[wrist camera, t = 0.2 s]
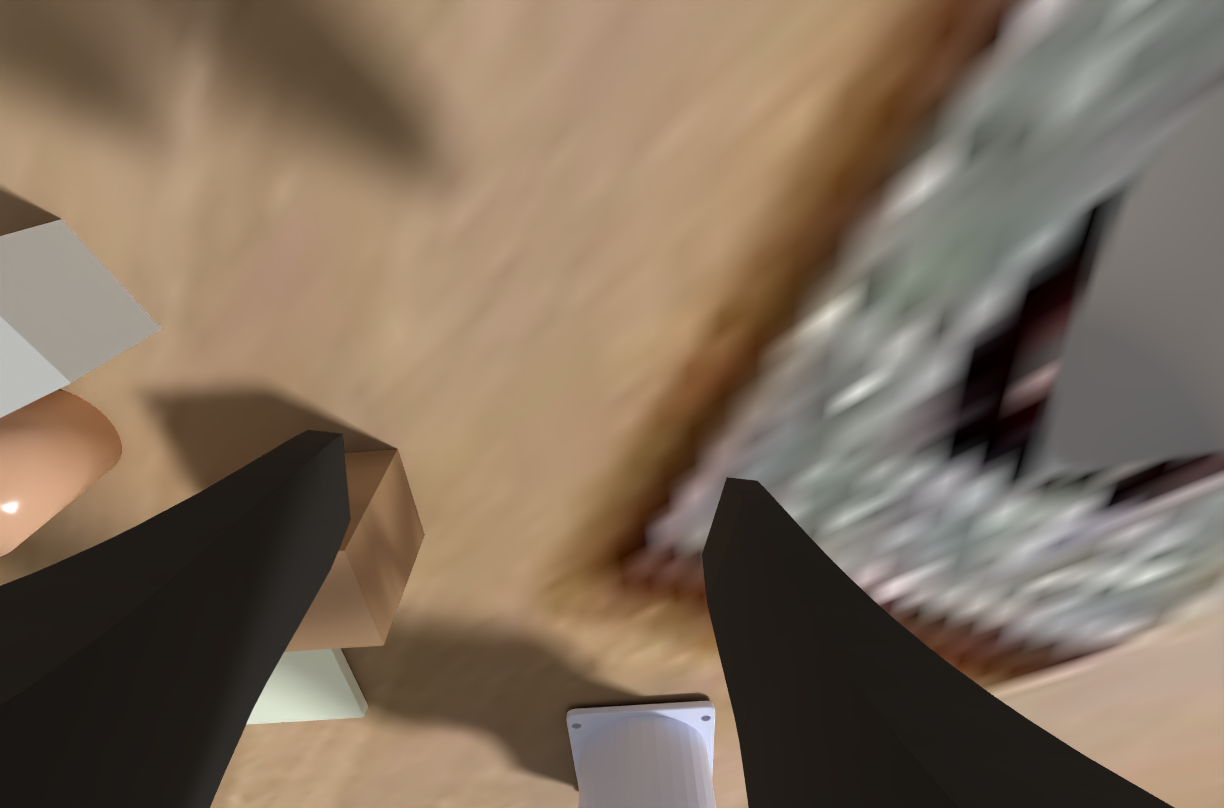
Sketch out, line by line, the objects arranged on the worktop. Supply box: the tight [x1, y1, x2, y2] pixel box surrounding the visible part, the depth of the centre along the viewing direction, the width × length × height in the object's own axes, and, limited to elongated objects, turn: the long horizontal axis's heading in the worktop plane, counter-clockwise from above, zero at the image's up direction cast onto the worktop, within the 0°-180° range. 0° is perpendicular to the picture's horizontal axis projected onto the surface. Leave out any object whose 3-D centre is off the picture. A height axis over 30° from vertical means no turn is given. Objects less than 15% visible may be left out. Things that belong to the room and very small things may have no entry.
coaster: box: [247, 648, 368, 724], centre depth 28 cm, size 10×10×1 cm
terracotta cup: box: [0, 389, 122, 557], centre depth 19 cm, size 4×4×4 cm
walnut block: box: [285, 449, 424, 652], centre depth 21 cm, size 4×4×6 cm
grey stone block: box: [0, 219, 162, 418], centre depth 17 cm, size 4×4×4 cm
